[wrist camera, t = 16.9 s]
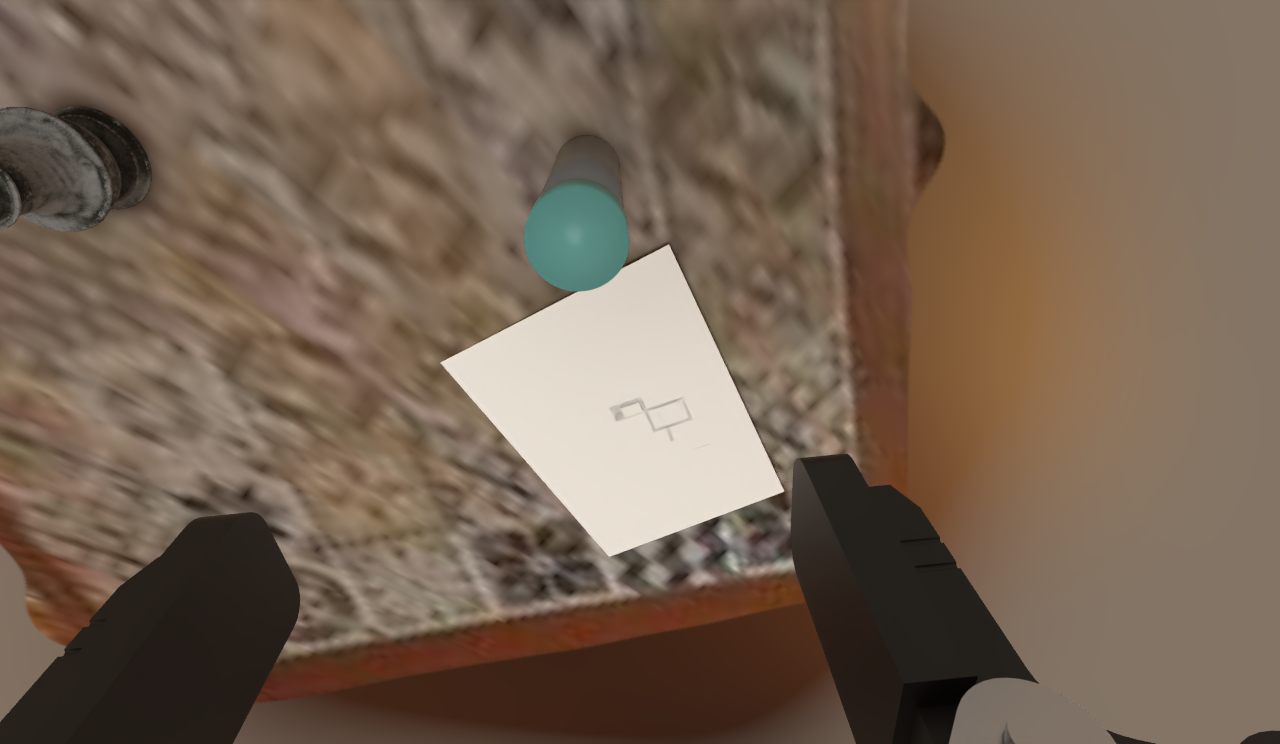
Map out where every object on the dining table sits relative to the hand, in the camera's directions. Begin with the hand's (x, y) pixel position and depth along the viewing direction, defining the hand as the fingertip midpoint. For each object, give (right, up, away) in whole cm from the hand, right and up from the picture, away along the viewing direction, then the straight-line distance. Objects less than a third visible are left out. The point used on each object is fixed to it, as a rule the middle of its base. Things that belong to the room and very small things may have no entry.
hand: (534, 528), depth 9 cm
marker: (-1, +14, +25) cm, 28 cm away
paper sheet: (-5, -3, +35) cm, 35 cm away
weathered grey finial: (-28, +14, +24) cm, 39 cm away
